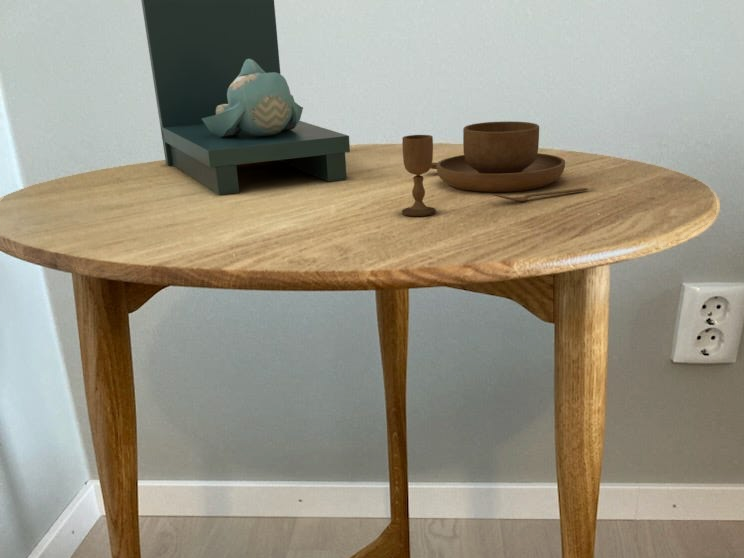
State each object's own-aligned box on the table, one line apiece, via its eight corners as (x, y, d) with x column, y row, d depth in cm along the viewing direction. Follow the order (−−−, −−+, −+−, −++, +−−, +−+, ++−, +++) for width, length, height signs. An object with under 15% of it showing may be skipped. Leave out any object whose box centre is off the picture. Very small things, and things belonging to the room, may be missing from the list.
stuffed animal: (275, 66, 97) (318, 46, 87) (286, 138, 99) (329, 127, 89) (177, 74, 93) (209, 53, 83) (191, 149, 95) (223, 138, 85)
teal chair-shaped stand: (351, 178, 90) (337, -86, 79) (213, 195, 86) (178, -84, 75) (284, 151, 107) (264, -70, 96) (166, 164, 103) (131, -67, 92)
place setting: (612, 188, 81) (617, 116, 78) (415, 219, 74) (413, 141, 71) (502, 162, 95) (504, 100, 92) (327, 186, 87) (322, 119, 84)
